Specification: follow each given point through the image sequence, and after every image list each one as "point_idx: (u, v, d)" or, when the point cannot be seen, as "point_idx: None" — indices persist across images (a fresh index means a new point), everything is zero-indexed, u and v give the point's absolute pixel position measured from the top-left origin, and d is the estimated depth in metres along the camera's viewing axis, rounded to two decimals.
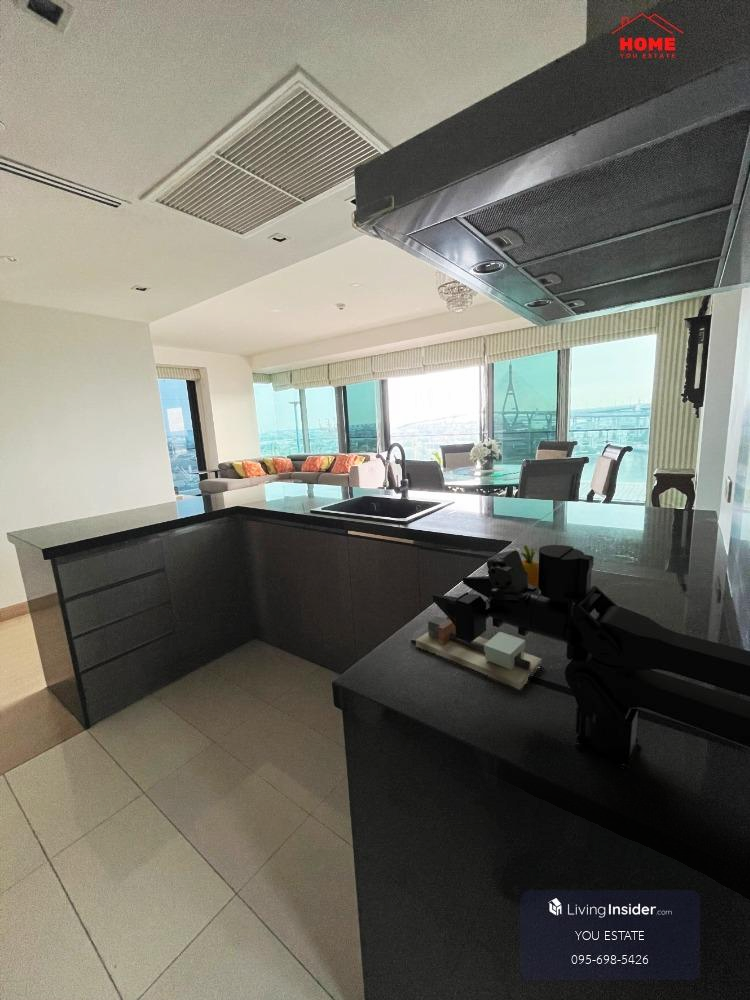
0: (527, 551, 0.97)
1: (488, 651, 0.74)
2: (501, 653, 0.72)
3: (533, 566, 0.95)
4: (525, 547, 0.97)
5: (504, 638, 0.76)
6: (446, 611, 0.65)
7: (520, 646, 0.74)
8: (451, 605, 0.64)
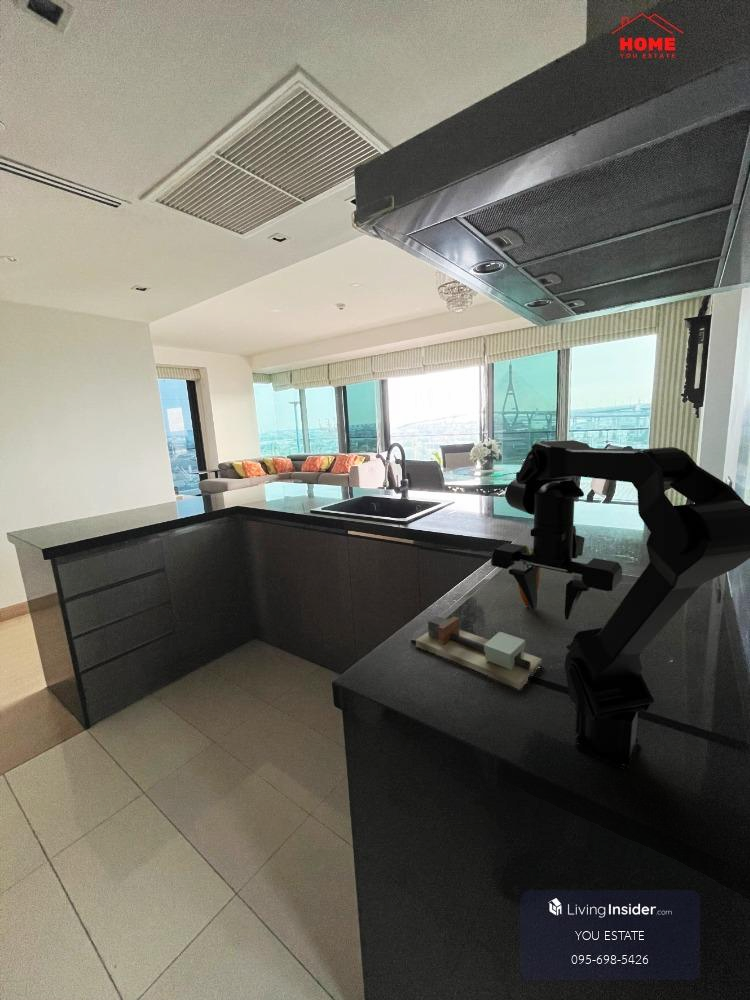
0: (527, 551, 0.97)
1: (488, 651, 0.74)
2: (501, 653, 0.72)
3: None
4: None
5: (504, 638, 0.76)
6: None
7: (520, 646, 0.74)
8: None
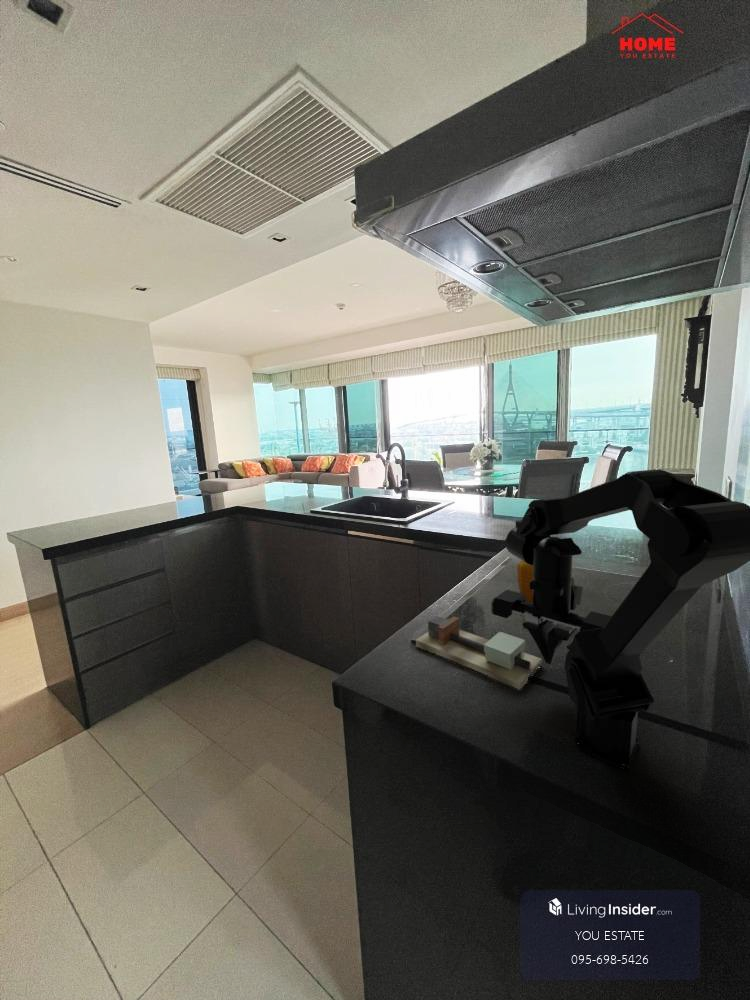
0: None
1: (488, 651, 0.74)
2: (501, 653, 0.72)
3: None
4: None
5: (504, 638, 0.76)
6: None
7: (520, 646, 0.74)
8: None
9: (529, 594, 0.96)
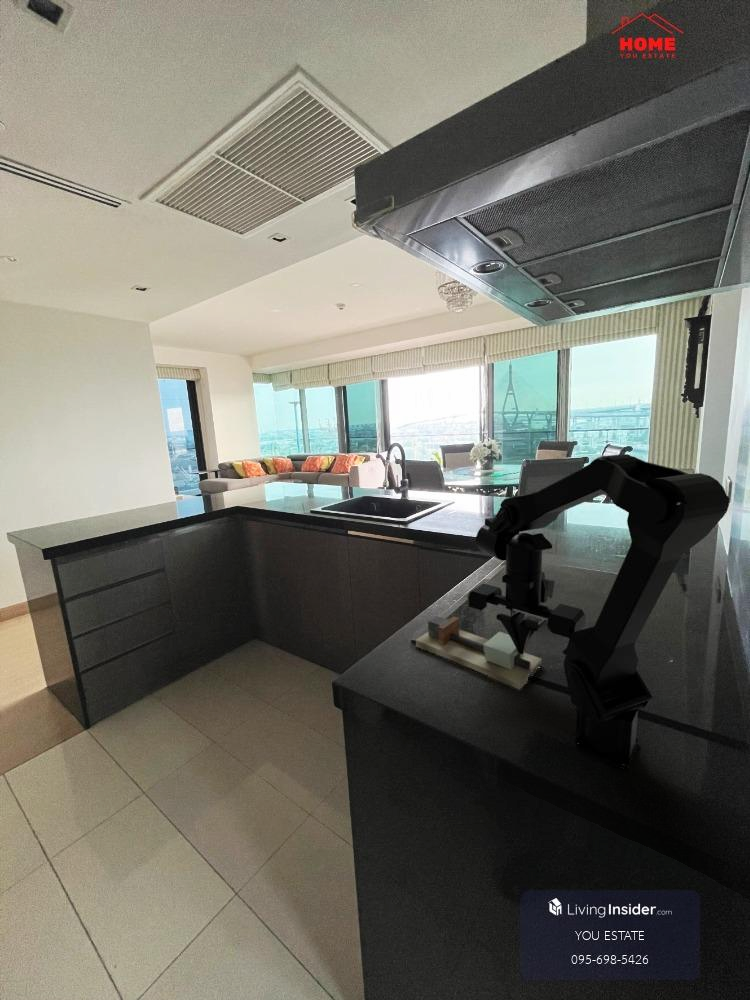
0: None
1: (488, 651, 0.74)
2: (501, 653, 0.72)
3: None
4: None
5: (504, 638, 0.76)
6: None
7: None
8: None
9: None
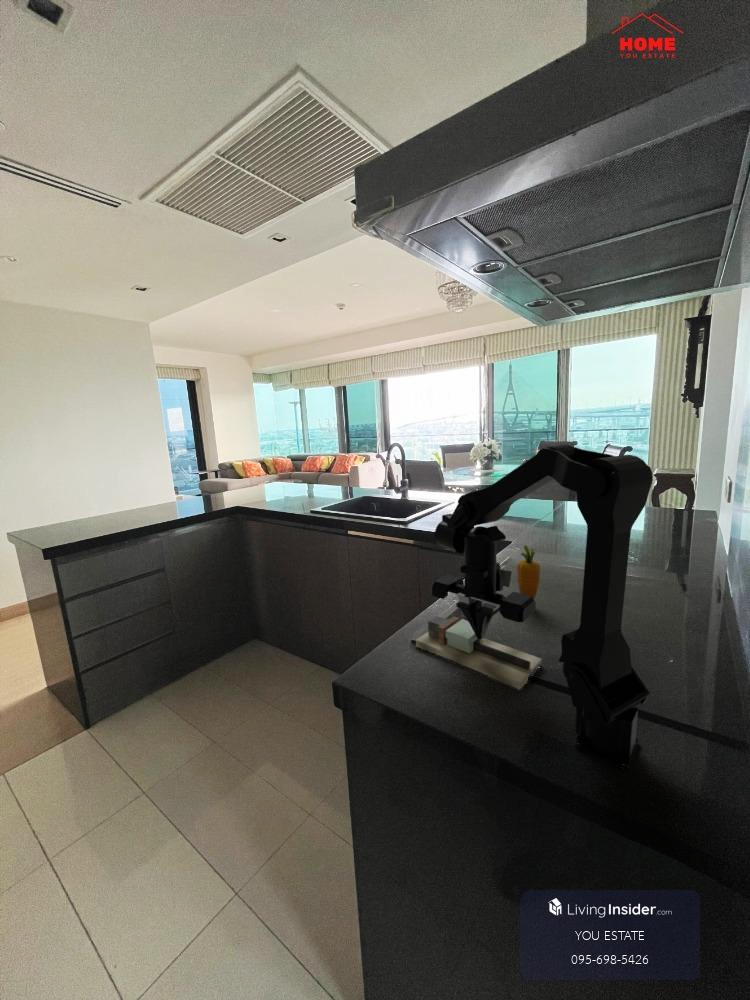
0: (527, 551, 0.97)
1: (449, 637, 0.80)
2: (460, 638, 0.78)
3: (534, 566, 0.95)
4: (525, 547, 0.97)
5: (465, 624, 0.82)
6: None
7: None
8: None
9: (529, 594, 0.96)
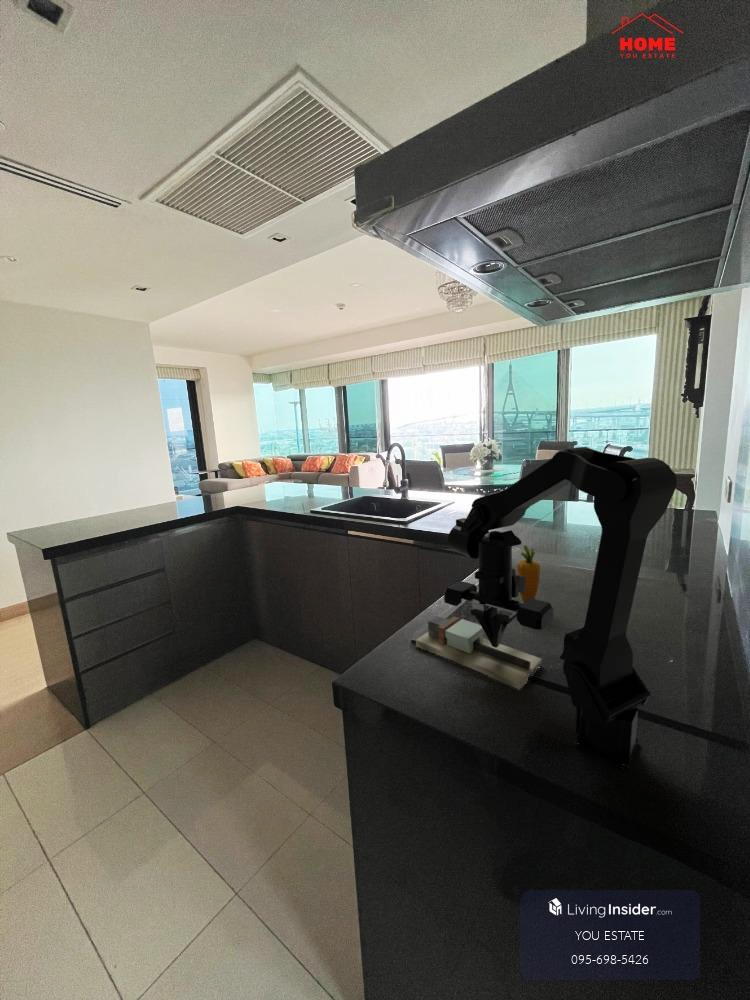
0: (527, 551, 0.97)
1: (449, 637, 0.80)
2: (460, 638, 0.78)
3: (533, 566, 0.95)
4: (525, 547, 0.97)
5: (465, 624, 0.82)
6: None
7: (479, 632, 0.80)
8: None
9: (529, 594, 0.96)
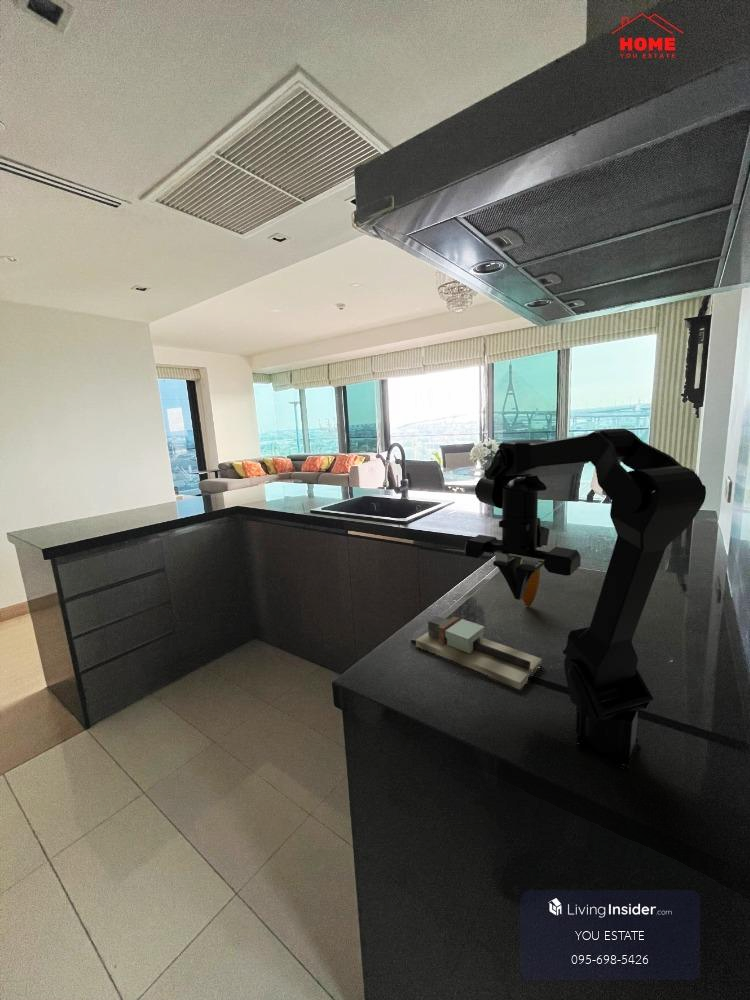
0: None
1: (449, 637, 0.80)
2: (460, 638, 0.78)
3: None
4: None
5: (465, 624, 0.82)
6: None
7: (479, 632, 0.80)
8: None
9: (529, 594, 0.96)
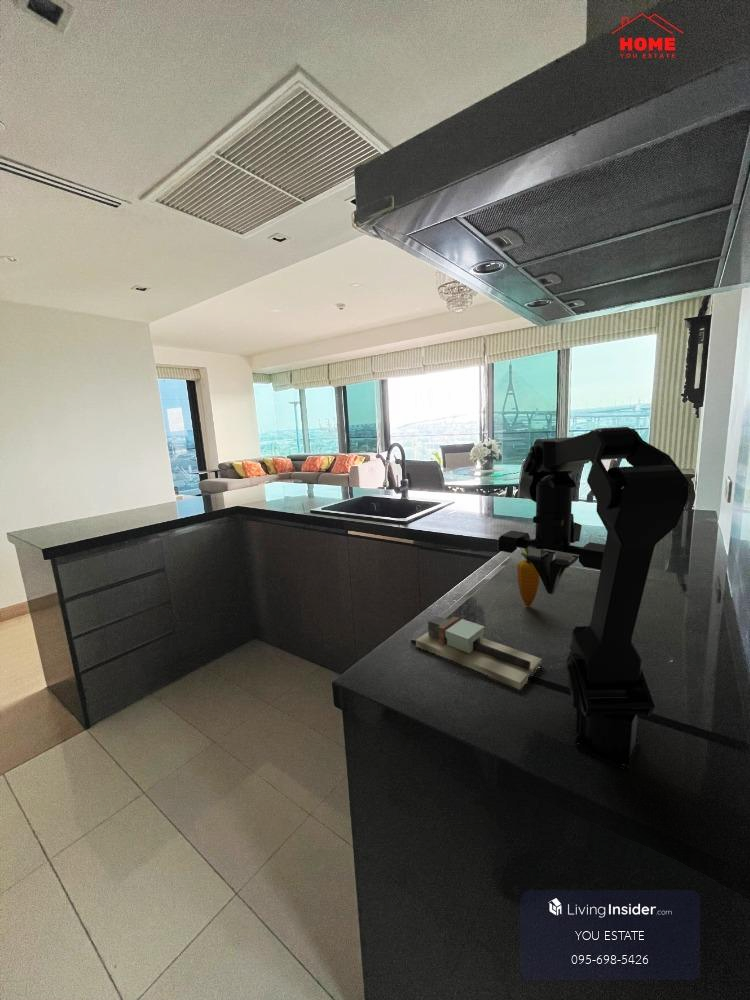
0: (527, 551, 0.97)
1: (449, 637, 0.80)
2: (460, 638, 0.78)
3: None
4: None
5: (465, 624, 0.82)
6: None
7: (479, 632, 0.80)
8: None
9: (529, 594, 0.96)
